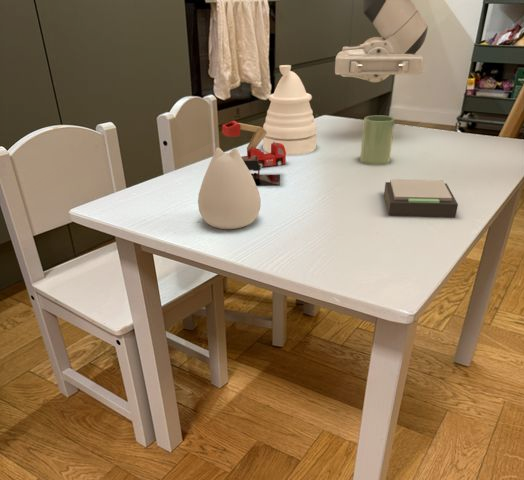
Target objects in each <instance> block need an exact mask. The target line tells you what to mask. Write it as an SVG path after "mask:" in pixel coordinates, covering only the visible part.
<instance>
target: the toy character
mask: <svg viewBox="0 0 524 480" xmlns="http://www.w3.org/2000/svg"><path fill="white" fill-rule="evenodd" d="M251 174H252V173H251V170H249V169H248V168H247V166H246V164H245V163H244V161H243V159H242V157H241V154H240V152H239V150H238V148H237V147H233V149H232V150H231V151H230V152H224V151H223V149H221V147H216V149H215V151H214V153H213V155H212V158H211V159H210V162H209V165H208V167H207V169H206V171H205V174H204V176H203V178H202V183H201V185H200V188H199V191H198V196H197V197H198V198H197V205H198V211H199V213H200V216H201V218H202V220H203V221H204V222H205V223H206V224H208V225H209V226H211V227H213V228H216V229H221V230H236V229H241V228H245V227H247V226H249V225H252V223H254V222H255V221H256V219H257V218H258V217H259V213H260V210H261V207H262V206H261V205H262V204H261V202H262V200H261V194H260V191H259V189H258V186H256V184H255V181H254V179H253V177H252V175H251Z"/></svg>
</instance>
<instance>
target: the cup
mask: <svg viewBox="0 0 524 480" xmlns="http://www.w3.org/2000/svg"><path fill="white" fill-rule="evenodd" d="M395 121H396V118H395V117H393V116H390V115H381V114H379V115H377V114H375V115H367V116H365V117H363V125H362V136H361V138H362V139H361V146H360V147H361V148H360V156H359V157H360V162H361V163H363V164H365V165H372V166H380V165H382V166H383V165H386V164H388V163H390V160H391V154H392V153H391V151H392V145H393V137H394V131H395V123H396V122H395Z"/></svg>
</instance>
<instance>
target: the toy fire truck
mask: <svg viewBox="0 0 524 480" xmlns="http://www.w3.org/2000/svg"><path fill="white" fill-rule="evenodd" d="M241 130H242V131H247V132H252V133H253V135H252V137H251V139H250V140H249V143H248V145H247V147H246V155H242V156H241V155H240V156H241V157H248V159H250V158H251V157H258V161H260V165H261V167H260V168H261V169H263V168H264V167H274V166H277V167H280V166H282V165H286V164H287V163H286V162H287V155H286V150H285V147H284V145H283V144H280V143H275V142H273V143H271V153H268V152H266V153H265V151H262V150H261V149H260V148H257V147H258V146H259V144H260V143H261V142H262V141H263V138H264V136H265V135H266V134H267V132H266V131H265V130H264V129H263V126H259V125H258V126H257V125H253V124H246V123H242V122H237V121H236V120H232V121H229V122H226V123H224V124H222V129H221V131H222V135H224V136H225V137H227V138H231V137H232V138H233V137H234V138H235V137H240V136H241V135H240V134H241Z"/></svg>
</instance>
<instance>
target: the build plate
mask: <svg viewBox="0 0 524 480" xmlns="http://www.w3.org/2000/svg"><path fill="white" fill-rule="evenodd" d="M242 159H243V161H244V163H245V164H246V166H247V168H248V169H249V171H253V172H254V173H251V175H252V177H253V179H254V181H255V184H256V186H257V187H280V186H281V175H280V174H261V170H262V168H260V167H261V165H260V161H258V157H251V158H250V159H248V157H242Z"/></svg>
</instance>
